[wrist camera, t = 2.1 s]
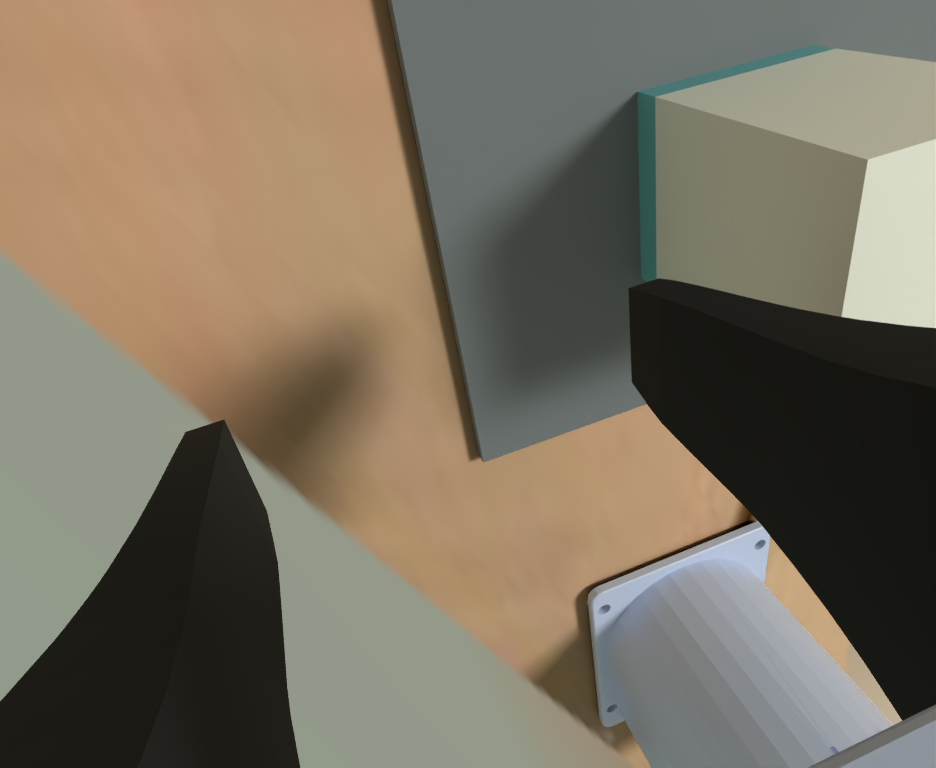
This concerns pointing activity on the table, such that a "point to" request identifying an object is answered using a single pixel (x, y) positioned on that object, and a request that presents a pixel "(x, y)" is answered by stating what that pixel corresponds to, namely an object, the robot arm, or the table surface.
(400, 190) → the table surface
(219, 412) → the table surface
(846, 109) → the cream block
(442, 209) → the rubber mat
